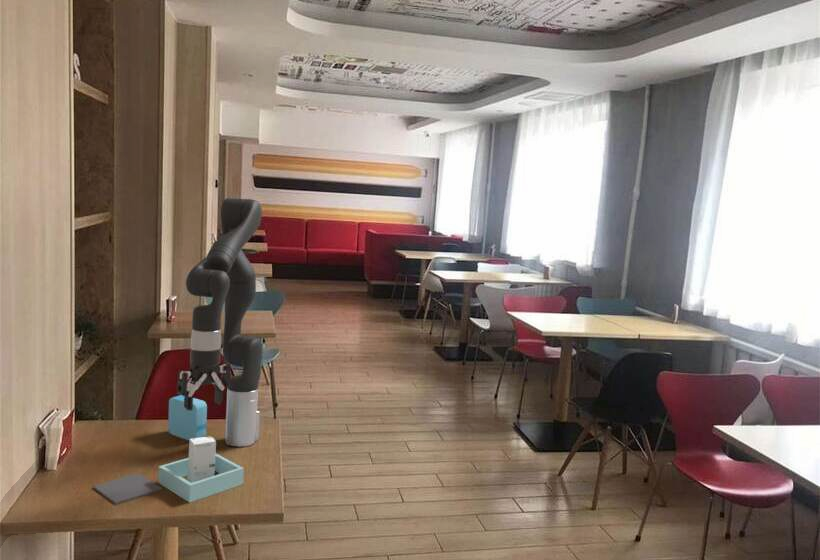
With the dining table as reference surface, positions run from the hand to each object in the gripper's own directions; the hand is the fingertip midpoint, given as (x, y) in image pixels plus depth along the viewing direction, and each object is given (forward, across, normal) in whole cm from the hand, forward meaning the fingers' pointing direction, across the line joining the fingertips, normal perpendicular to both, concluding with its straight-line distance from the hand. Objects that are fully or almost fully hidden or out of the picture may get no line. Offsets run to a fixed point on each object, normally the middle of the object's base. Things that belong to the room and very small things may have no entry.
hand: (203, 406), depth 173 cm
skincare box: (+21, 0, 0) cm, 21 cm away
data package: (+21, -15, -32) cm, 41 cm away
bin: (+21, 0, 0) cm, 21 cm away
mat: (+21, +15, -9) cm, 28 cm away
